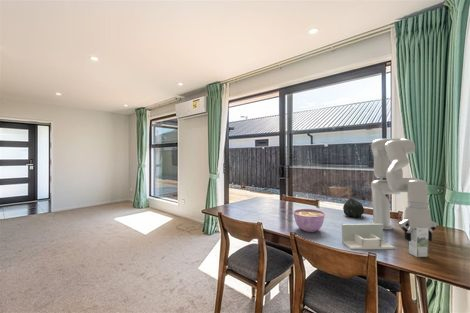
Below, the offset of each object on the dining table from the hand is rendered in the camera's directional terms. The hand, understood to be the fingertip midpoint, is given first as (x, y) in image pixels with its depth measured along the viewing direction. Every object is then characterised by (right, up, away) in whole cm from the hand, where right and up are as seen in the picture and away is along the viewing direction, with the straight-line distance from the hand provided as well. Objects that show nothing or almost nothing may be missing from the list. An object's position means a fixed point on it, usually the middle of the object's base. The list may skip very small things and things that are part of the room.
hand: (418, 240), depth 109 cm
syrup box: (0, -8, +1) cm, 8 cm away
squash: (+5, -7, +68) cm, 69 cm away
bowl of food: (-40, -8, +39) cm, 57 cm away
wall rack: (-17, -8, +13) cm, 23 cm away
